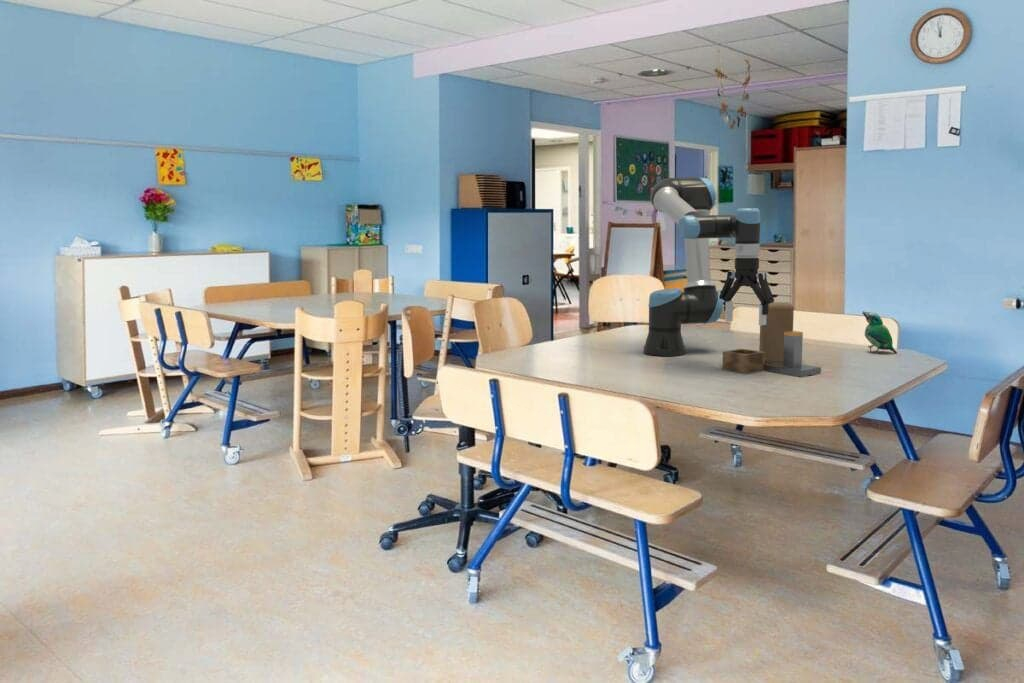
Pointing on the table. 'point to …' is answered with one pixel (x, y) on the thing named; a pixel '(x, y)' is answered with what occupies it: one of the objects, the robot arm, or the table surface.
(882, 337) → the toy
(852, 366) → the table surface
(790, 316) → the block
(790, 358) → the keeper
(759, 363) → the wooden cube shelf
